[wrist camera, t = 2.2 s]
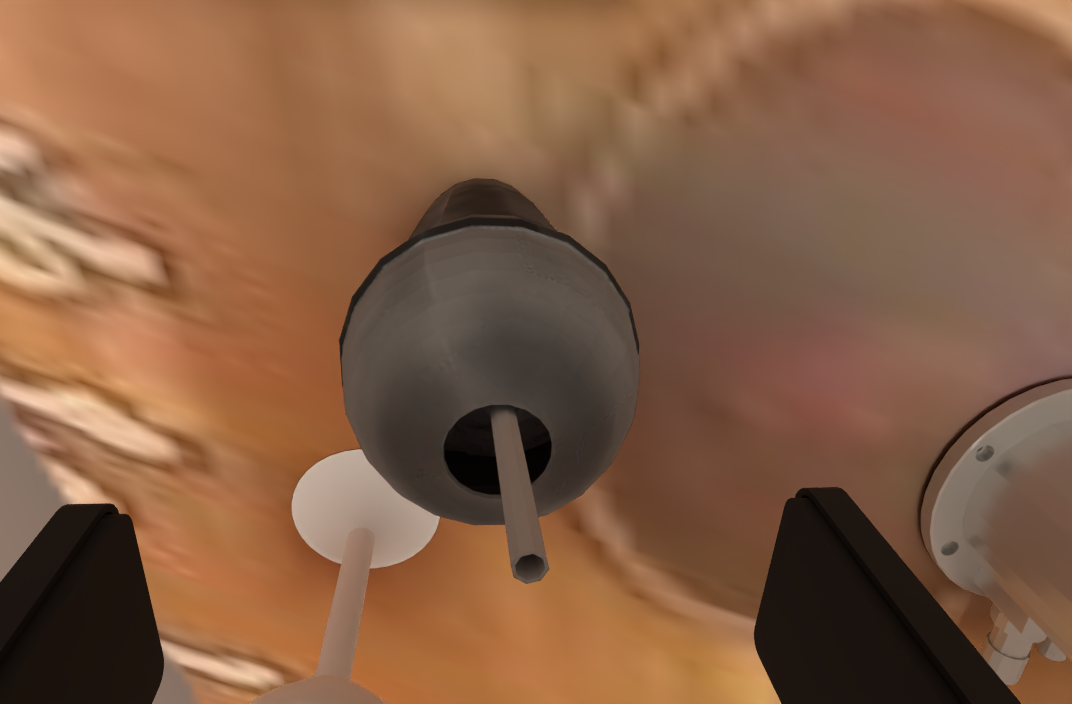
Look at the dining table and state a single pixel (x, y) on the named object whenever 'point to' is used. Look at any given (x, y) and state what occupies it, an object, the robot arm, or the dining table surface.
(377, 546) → the champagne flute
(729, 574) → the dining table surface
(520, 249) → the beverage cup
